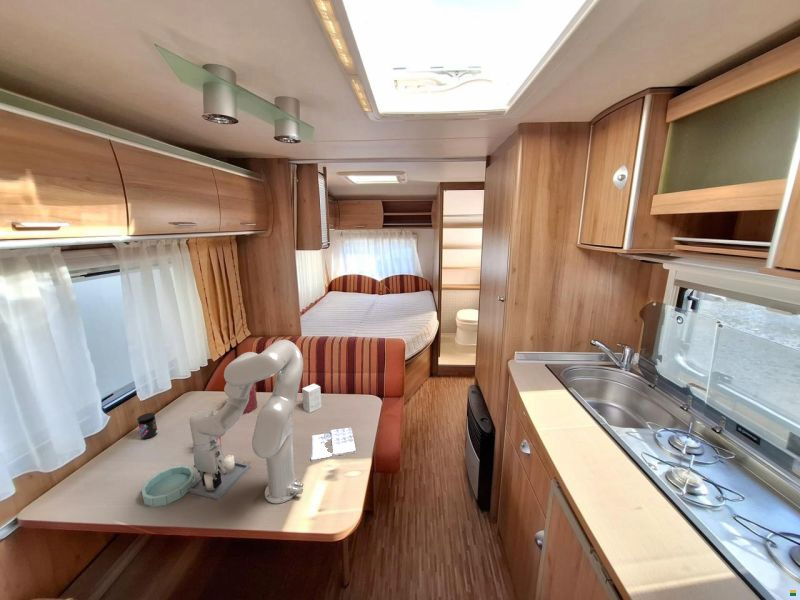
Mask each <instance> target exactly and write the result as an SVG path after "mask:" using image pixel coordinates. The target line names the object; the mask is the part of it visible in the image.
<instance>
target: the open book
mask: <svg viewBox="0 0 800 600" xmlns="http://www.w3.org/2000/svg"><path fill="white" fill-rule="evenodd" d="M331 438H332V442H331V447H332V449H333V452H332V453H330V452H328V451H327V449H328V448H326V447H325V446H326V445H325V443H326V442H328V440H330V439H331ZM354 438H355V437H354V434H353V429H352V427H344V428H337V429H336V428H335V429H330V431H329V432H327V433H322V434H321V433H320V434H313V435H311V455H310V459H311V462H313V460H314V461H318V460H317V459H319V460H322V459H321V458H324V459H327V458H326V457H330V456H332V455H338V454H343V453H347V452H353V451H355V452H356V451H357V450H356V444H355V439H354Z"/></svg>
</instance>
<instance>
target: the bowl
mask: <svg viewBox="0 0 800 600" xmlns="http://www.w3.org/2000/svg"><path fill="white" fill-rule="evenodd" d="M195 473H196V472H195V471H194V469H193V467H192V466H188V465H183V464H182V465H179V466H177V465H176V466H171V467H169V468H166V469H164V470H162V471H160V472H159V471H158V472H157V473H156V474H155V475H152V477H150V478H149V479H147V480H146V482H145V483H144V484H143V487H142V488H141V494H142V498H143V499H142V500H143V503H144V506H145V505H146V506H149V507H153V508H154V507H160V506H166V505H169V504H171V503H173V502H175V501H176V500H179V499H181V498H183V497H184V496H185V495H186V494H188V493H189V492H188V490H187V489H188V488H189V487H190V486H192V485H193V484H194V483H195V482H196V481H197V480H196V474H195Z"/></svg>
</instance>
